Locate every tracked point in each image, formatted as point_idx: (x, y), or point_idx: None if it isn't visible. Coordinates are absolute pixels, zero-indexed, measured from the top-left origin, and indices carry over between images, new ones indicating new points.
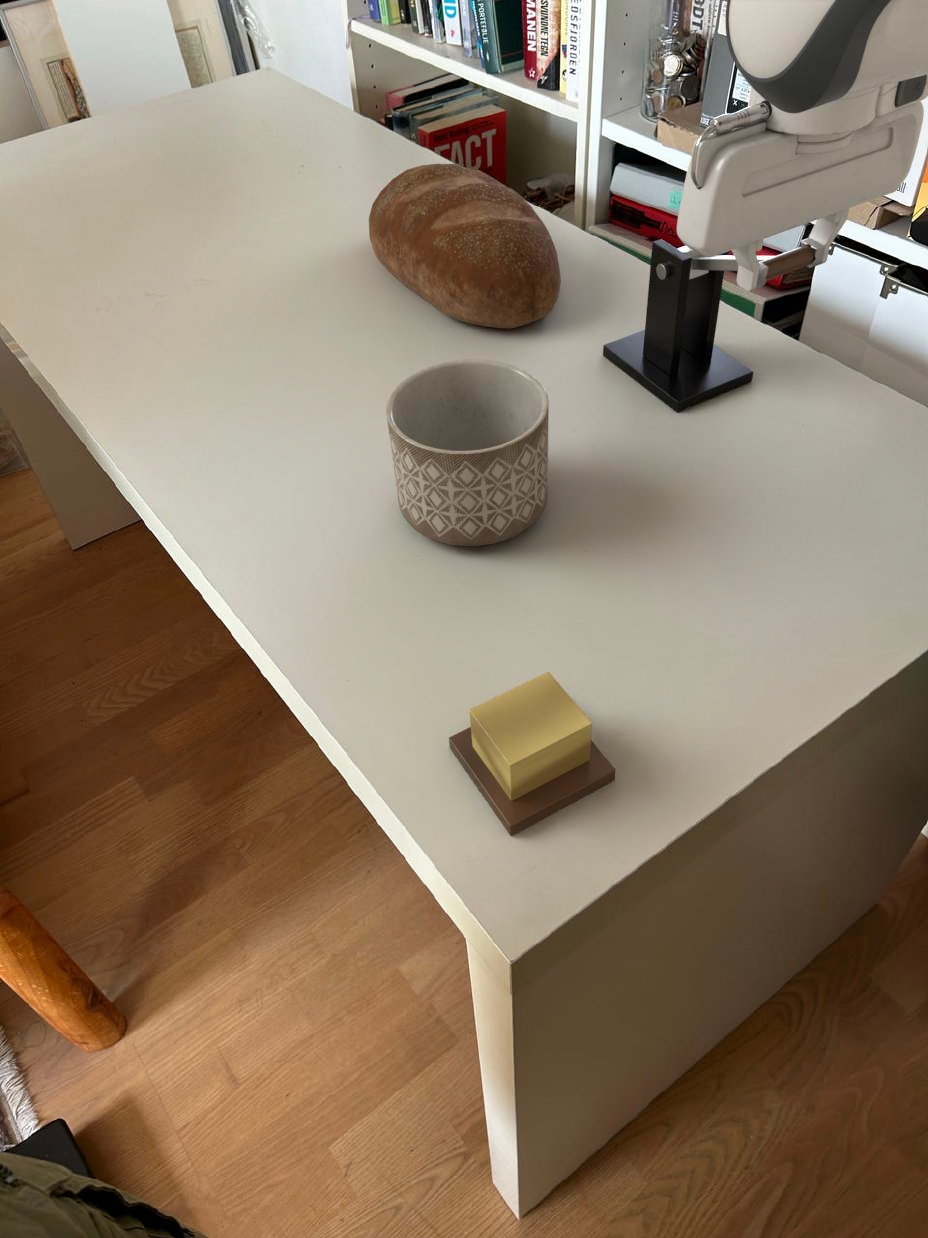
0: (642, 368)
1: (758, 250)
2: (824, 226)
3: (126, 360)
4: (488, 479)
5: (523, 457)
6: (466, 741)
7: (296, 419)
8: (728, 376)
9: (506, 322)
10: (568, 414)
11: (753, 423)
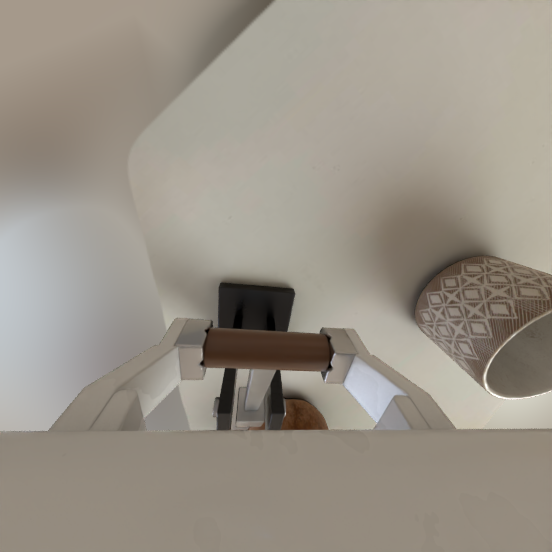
0: None
1: (401, 396)
2: (148, 391)
3: None
4: None
5: None
6: None
7: (435, 394)
8: (240, 294)
9: (310, 405)
10: (344, 327)
11: (260, 245)
